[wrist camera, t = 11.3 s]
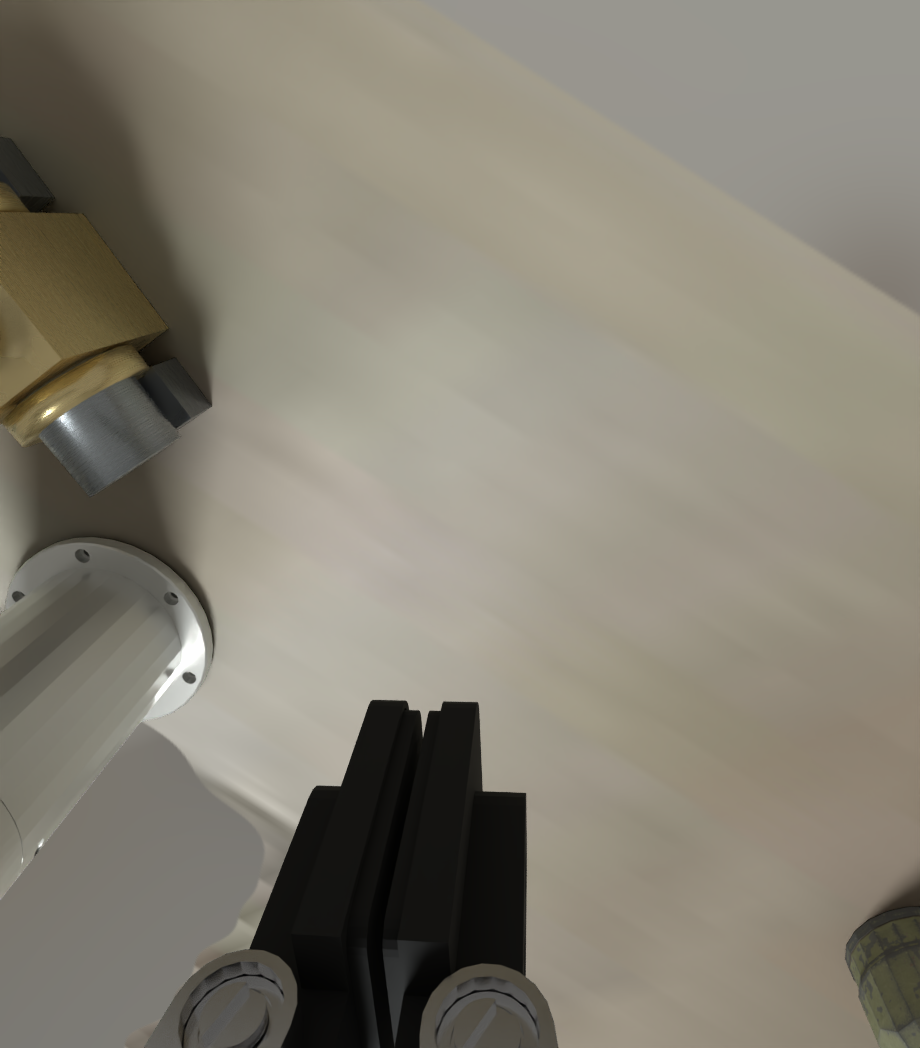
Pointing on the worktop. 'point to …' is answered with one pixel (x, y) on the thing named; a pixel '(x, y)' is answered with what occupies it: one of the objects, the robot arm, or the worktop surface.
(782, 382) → the worktop surface
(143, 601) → the robot arm
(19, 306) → the ball valve
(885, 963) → the green piece
